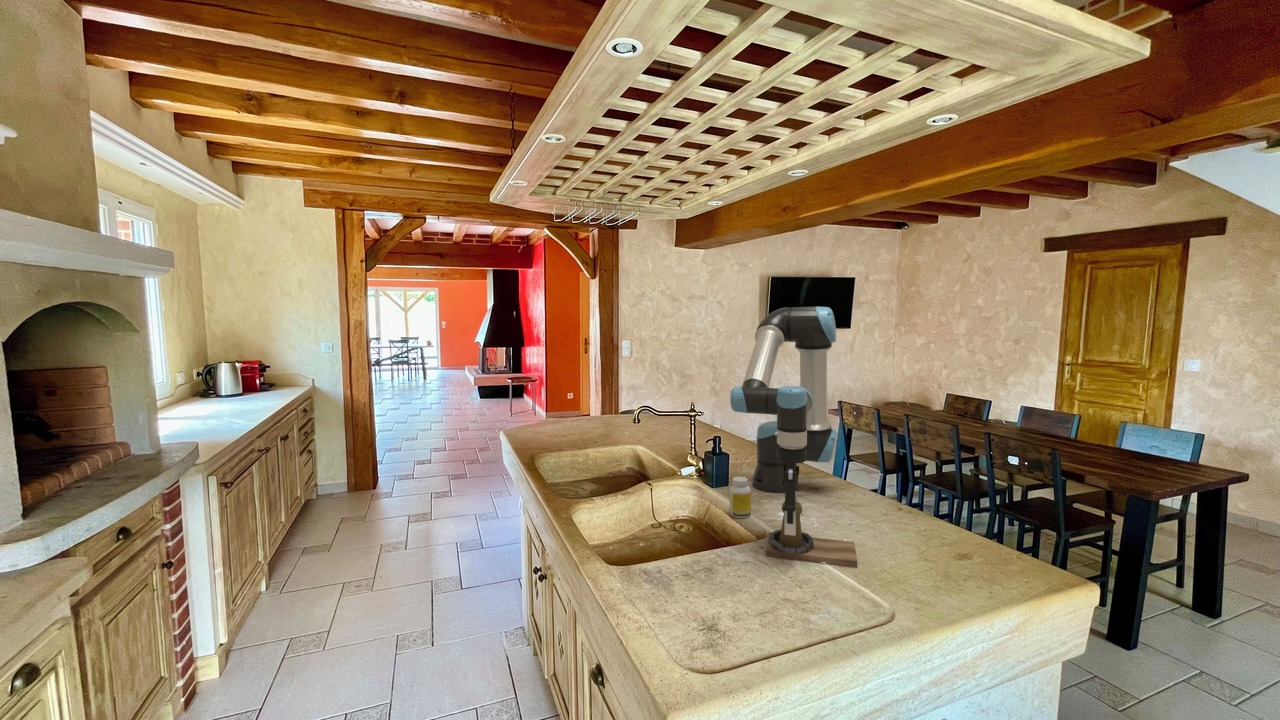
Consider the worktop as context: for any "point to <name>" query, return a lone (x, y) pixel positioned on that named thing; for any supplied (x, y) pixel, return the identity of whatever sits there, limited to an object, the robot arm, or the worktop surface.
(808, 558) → the walnut board
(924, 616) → the worktop surface
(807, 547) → the ring holder
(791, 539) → the cork
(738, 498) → the pill bottle
